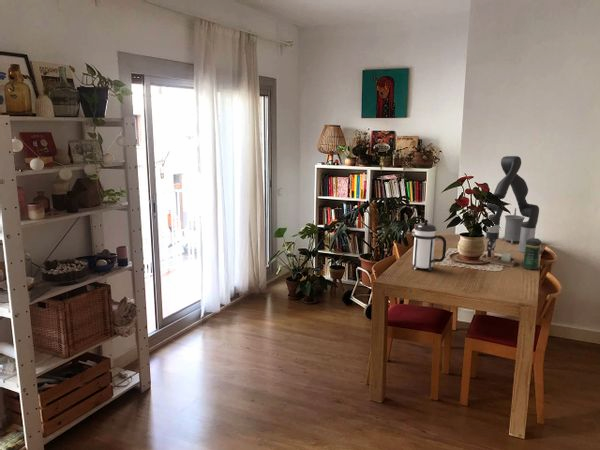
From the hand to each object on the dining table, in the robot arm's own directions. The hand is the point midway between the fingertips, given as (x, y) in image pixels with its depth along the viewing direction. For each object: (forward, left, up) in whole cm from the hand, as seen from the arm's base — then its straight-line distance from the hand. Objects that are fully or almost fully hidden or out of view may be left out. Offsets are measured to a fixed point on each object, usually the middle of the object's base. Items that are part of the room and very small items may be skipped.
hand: (490, 255), depth 311 cm
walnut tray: (0, +5, -3) cm, 6 cm away
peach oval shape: (0, 0, -3) cm, 3 cm away
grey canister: (-66, +2, -4) cm, 66 cm away
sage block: (0, +9, -3) cm, 10 cm away
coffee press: (+42, -29, -4) cm, 51 cm away
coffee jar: (+2, +24, -4) cm, 25 cm away
